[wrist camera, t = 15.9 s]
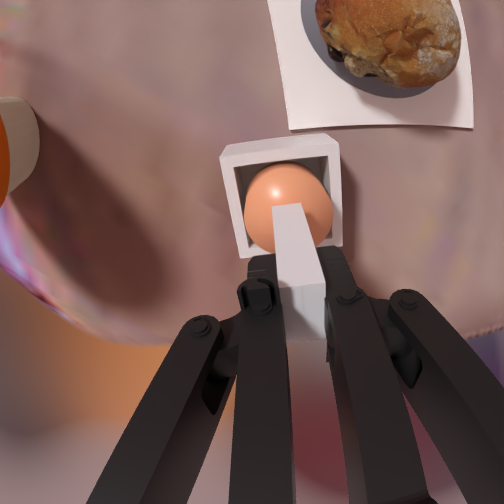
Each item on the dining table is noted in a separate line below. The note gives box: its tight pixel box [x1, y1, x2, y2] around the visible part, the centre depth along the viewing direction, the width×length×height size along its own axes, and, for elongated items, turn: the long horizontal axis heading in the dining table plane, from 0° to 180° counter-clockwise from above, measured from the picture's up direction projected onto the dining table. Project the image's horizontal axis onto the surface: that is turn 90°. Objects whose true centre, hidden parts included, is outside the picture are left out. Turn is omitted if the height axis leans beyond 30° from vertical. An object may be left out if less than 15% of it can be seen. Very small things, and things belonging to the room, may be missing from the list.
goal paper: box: [267, 0, 473, 130], centre depth 14 cm, size 16×16×1 cm
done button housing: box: [219, 133, 343, 258], centre depth 19 cm, size 7×7×4 cm
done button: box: [244, 161, 333, 254], centre depth 17 cm, size 5×5×3 cm
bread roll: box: [315, 0, 461, 89], centre depth 12 cm, size 10×10×8 cm
